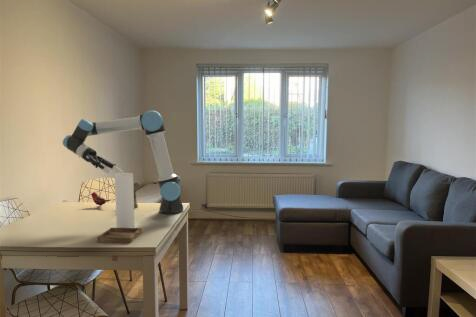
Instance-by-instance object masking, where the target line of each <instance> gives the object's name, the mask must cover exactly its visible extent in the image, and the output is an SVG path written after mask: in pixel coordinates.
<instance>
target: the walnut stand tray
mask: <svg viewBox="0 0 476 317" xmlns="http://www.w3.org/2000/svg"><path fill="white" fill-rule="evenodd" d="M142 229H143V228H141V227H135V228H117V227H110V228H109V229H107V230H105V232H103V233H101V234H100V235H99V236H98V237H97V243H106V244H107V243H112V244H113V243H117V244H132V242H133V241H135V240H136V239H137V238H138V237H139V236H140V235H141V234H142V233H143V232H142V231H143V230H142Z"/></svg>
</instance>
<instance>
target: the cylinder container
mask: <svg viewBox="0 0 476 317" xmlns="http://www.w3.org/2000/svg"><path fill="white" fill-rule="evenodd" d="M133 184H134V173H133V172H123V173H114V191H115V196H114V197H115V216H116V217H115V219H116V220H115V221H116V228H136V226H135V222H136V221H135V208H134V185H133Z"/></svg>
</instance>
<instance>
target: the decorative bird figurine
mask: <svg viewBox="0 0 476 317" xmlns="http://www.w3.org/2000/svg"><path fill="white" fill-rule="evenodd" d="M91 198H92V200H93V203H95V204H96V207H97V208H102V206H104V205H105V204H107V202H111V199H106V198H104V197H101V196H100V195H98V193H96V191H95V192H94V191H93V192H92V193H91Z"/></svg>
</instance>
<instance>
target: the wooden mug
mask: <svg viewBox="0 0 476 317" xmlns="http://www.w3.org/2000/svg"><path fill="white" fill-rule="evenodd" d="M133 185H134V209H137V208H139V205H138V201H137V192H136V191H137V190H139V187H140V184H139V183H138V182H133Z"/></svg>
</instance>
